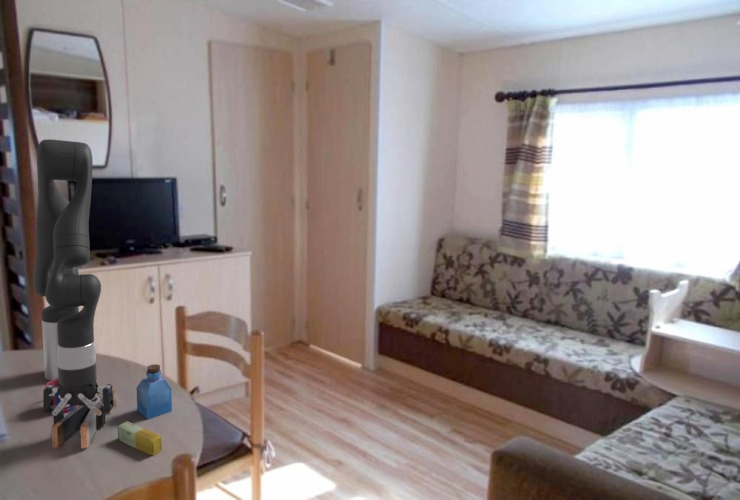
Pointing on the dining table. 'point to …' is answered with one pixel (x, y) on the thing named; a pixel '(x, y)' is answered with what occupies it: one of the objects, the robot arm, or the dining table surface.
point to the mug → (58, 398)
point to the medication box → (139, 438)
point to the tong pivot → (113, 398)
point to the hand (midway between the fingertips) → (80, 428)
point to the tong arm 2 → (89, 427)
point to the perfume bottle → (154, 394)
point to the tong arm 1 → (68, 425)
